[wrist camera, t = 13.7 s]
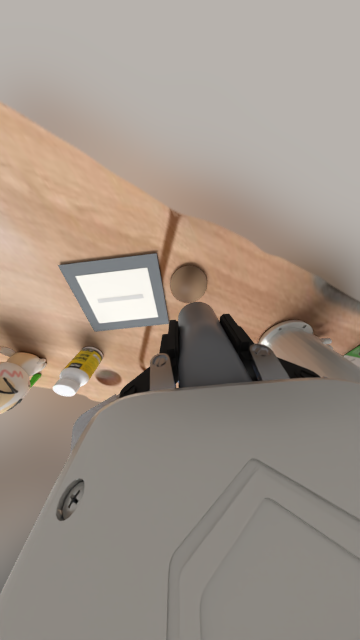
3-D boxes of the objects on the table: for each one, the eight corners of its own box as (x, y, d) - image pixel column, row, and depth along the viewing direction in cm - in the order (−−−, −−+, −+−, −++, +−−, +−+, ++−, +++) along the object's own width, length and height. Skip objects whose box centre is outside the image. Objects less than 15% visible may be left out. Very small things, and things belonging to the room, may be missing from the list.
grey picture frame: (156, 253, 22) (156, 253, 21) (168, 322, 29) (168, 323, 28) (60, 264, 22) (57, 265, 22) (95, 330, 29) (94, 331, 29)
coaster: (206, 263, 23) (207, 263, 22) (206, 299, 26) (207, 300, 26) (167, 267, 23) (167, 268, 22) (172, 303, 27) (172, 304, 26)
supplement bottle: (96, 344, 31) (68, 380, 23) (107, 359, 34) (85, 396, 26) (76, 347, 32) (41, 385, 23) (88, 362, 35) (60, 400, 26)
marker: (215, 299, 13) (323, 449, 3) (214, 332, 15) (280, 483, 5) (175, 303, 13) (168, 458, 4) (180, 335, 15) (184, 488, 6)
